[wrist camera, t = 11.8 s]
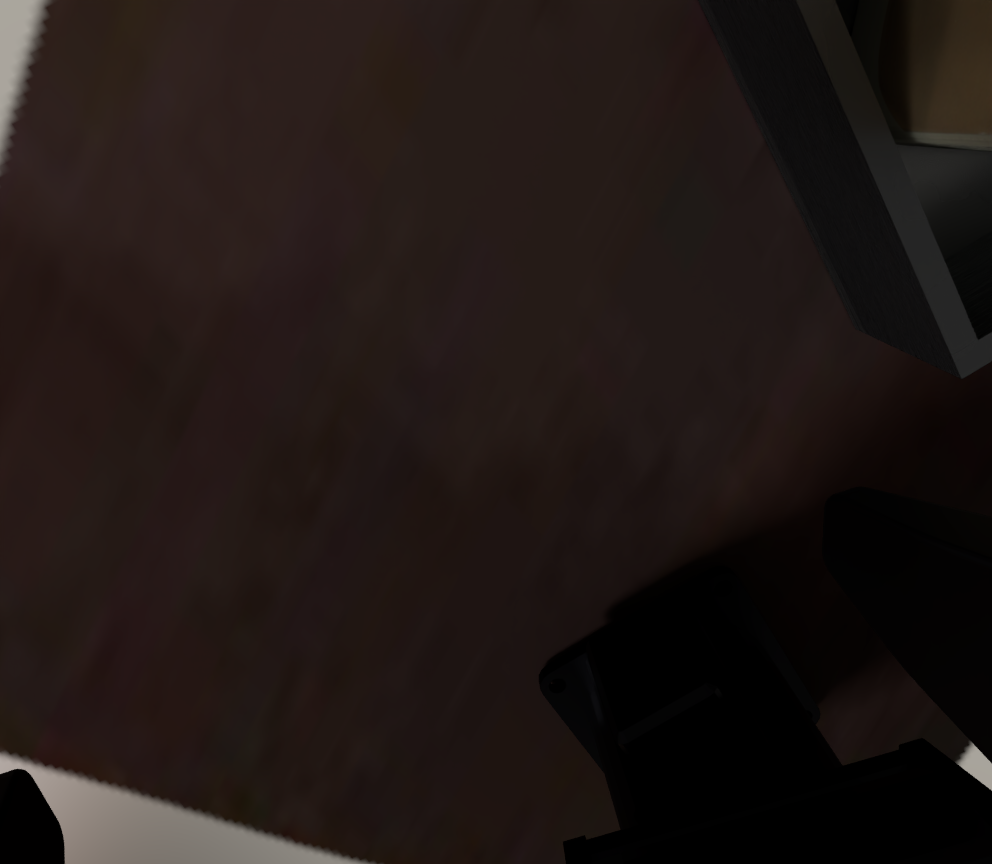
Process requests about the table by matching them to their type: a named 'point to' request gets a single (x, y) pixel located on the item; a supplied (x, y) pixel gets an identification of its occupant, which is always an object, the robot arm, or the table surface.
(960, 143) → the skincare box
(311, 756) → the table surface
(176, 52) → the table surface
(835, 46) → the grey open tray
